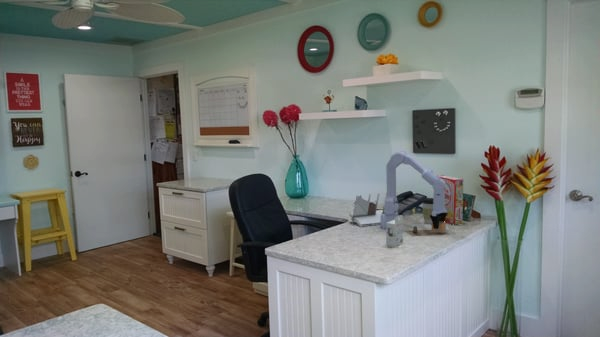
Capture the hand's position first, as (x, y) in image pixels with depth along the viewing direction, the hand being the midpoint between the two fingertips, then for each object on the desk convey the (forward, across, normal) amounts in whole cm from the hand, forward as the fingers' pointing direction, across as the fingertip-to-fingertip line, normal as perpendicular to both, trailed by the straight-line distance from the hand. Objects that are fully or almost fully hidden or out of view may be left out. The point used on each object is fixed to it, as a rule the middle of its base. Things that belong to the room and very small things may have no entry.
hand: (438, 227), depth 239 cm
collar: (+2, 0, 0) cm, 2 cm away
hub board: (+4, -5, +5) cm, 8 cm away
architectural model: (+4, +7, +41) cm, 42 cm away
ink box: (+4, -33, +10) cm, 34 cm away
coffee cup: (+4, +19, +12) cm, 23 cm away
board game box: (+4, +34, +7) cm, 35 cm away
